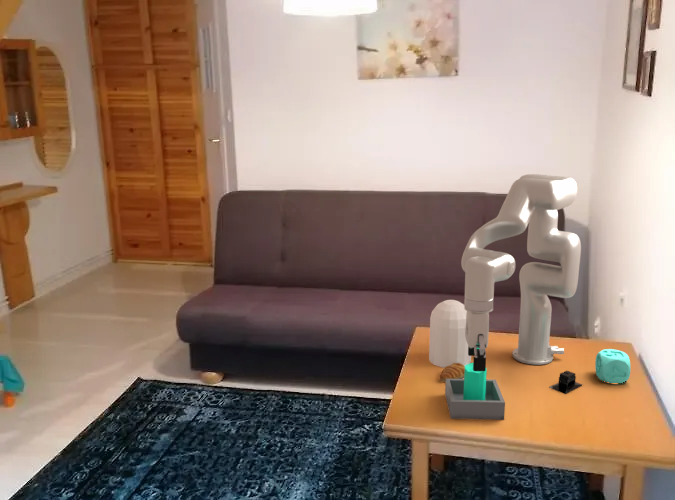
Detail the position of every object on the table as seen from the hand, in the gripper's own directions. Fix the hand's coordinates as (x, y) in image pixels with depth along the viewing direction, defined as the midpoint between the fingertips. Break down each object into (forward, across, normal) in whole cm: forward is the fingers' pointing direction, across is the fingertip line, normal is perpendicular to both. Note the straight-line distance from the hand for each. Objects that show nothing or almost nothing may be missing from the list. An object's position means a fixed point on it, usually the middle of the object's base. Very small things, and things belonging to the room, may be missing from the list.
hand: (476, 363), depth 180 cm
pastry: (+14, -18, -4) cm, 23 cm away
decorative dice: (+14, -19, +44) cm, 50 cm away
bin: (+13, +1, 0) cm, 13 cm away
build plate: (+14, -14, +29) cm, 35 cm away
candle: (+12, 0, 0) cm, 12 cm away
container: (+14, -31, -4) cm, 34 cm away
